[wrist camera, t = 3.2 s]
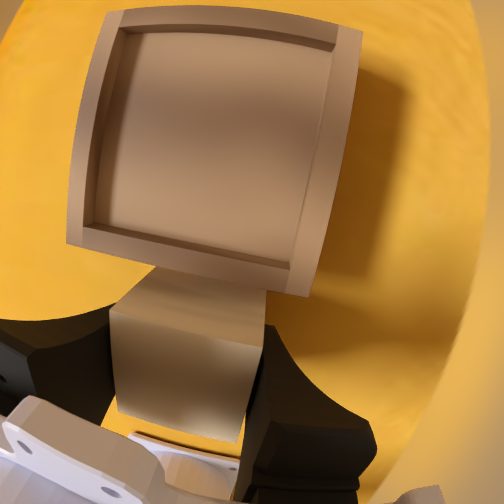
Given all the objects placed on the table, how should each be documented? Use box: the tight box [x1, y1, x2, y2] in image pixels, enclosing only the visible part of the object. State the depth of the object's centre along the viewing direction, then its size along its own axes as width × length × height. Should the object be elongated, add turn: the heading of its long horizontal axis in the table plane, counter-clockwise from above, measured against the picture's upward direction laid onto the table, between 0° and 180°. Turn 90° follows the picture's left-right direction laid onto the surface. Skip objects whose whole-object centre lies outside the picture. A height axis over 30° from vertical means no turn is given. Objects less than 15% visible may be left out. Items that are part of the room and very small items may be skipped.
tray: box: [66, 5, 363, 298], centre depth 10 cm, size 9×9×3 cm
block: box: [109, 266, 267, 443], centre depth 11 cm, size 4×4×5 cm
